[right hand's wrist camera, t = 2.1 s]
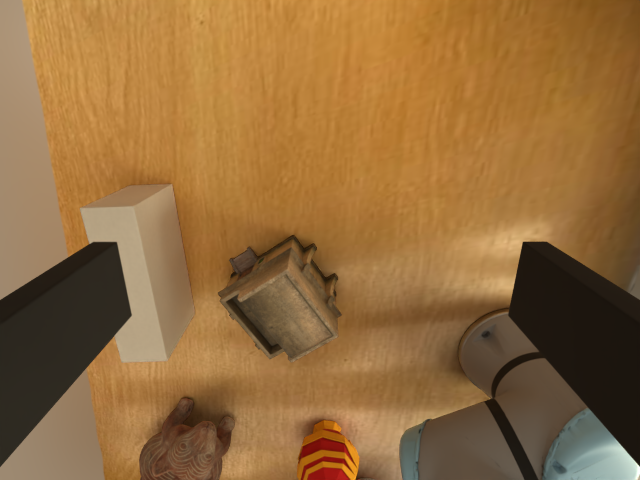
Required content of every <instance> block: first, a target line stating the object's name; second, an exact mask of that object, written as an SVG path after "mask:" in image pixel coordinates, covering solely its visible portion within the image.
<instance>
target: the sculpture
mask: <svg viewBox="0 0 640 480" xmlns="http://www.w3.org/2000/svg"><path fill="white" fill-rule="evenodd" d="M193 405H194V403H193V401H192V400H190V399H188V398H183V399H182V400H181V401H180V402H179V404H178V406H177V408H176V409H175V410H173V411H172V412H171V414H170V415H169V416H168V417H167V419H166V420H165V422H164V424H163V427H162V432H161V433H159V434H156V435H155V436H153V437H152V438H151V439H149V441H148V442H147V443H146V444H145V445H144V447H143V449H142V451H141V454H140V459H139V463H140V473H141V479H140V480H219V478H220V475H221V471H222V458H221V457H222V456H223V455H224V454H225V453H226V452H227V451H228V449H229V446H230V441H231V431H232V429H233V428H234V424H235V422H234V419H232V418H231V417H227V416H225V417H224V418H223V419H222V421H221V422H220V424H219V426H218V427H217V430H216V426H215V425H214V423H212V422H211V421H202V422H200V423H199V424H197V425H196V426H194V427H193V428H192V427H189V426H187V425H184V424H183V422H184V421H185V420H186V419H187V418H188V417H189V415H190V413H191V411H192V408H193Z"/></svg>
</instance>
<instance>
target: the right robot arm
mask: <svg viewBox="0 0 640 480" xmlns="http://www.w3.org/2000/svg"><path fill="white" fill-rule="evenodd" d="M131 316H132V313H131V308H130V303H129V298H128V294H127V289H126V284H125V279H124V274H123V269H122V264H121V259H120V254H119V249H118V244H117V242H92V243H91V244H89V245H87V246H86V247H84V248H83V249H81V250H79V251H78V252H76V253H75V254H73V255H71V256H70V257H68V258H67V259H65V260H63V261H62V262H60V263H59V264H57V265H55V266H54V267H52V268H51V269H49V270H47V271H46V272H44V273H43V274H41V275H39V276H38V277H36V278H35V279H33V280H31V281H30V282H28V283H27V284H25V285H24V286H22V287H20V288H19V289H17V290H15V291H14V292H12V293H11V294H9V295H8V296H6V297H4V298H3V299H1V300H0V467H1V465H2V464H3V463H4V462H5V461H6V460H7V459H8V457H9V456H10V455H11V454H12V453H13V452H14V450H15V449H16V448H17V447H18V446H19V445H20V444H21V442H22V441H23V440H24V439H25V438H26V437H27V436H28V434H29V433H30V432H31V431H32V430H33V429H34V428H35V426H36V425H37V424H38V423H39V422H40V421H41V419H42V418H43V417H44V416H45V415H46V414H47V413H48V411H49V410H50V409H51V408H52V407H53V406H54V405H55V403H56V402H57V401H58V400H59V399H60V398H61V397H62V395H63V394H64V393H65V392H66V391H67V390H68V388H69V387H70V386H71V385H72V384H73V383H74V382H75V380H76V379H77V378H78V377H79V376H80V375H81V374H82V372H83V371H84V370H85V369H86V368H87V367H88V366H89V364H90V363H91V362H92V361H93V360H94V359H95V358H96V356H97V355H98V354H99V353H100V352H101V351H102V349H103V348H104V347H105V346H106V345H107V344H108V343H109V341H110V340H111V339H112V338H113V337H114V336H115V335H116V333H117V332H118V331H119V330H120V329H121V328H122V327H123V325H124V324H125V323H126V322H127V321H128V320H129V318H130V317H131ZM458 358H459V362H460V365H461V367H462V369H463V371H464V373H465V374H466V376H467V377H468V378H469V380H470V381H471V382H472V383H473V384H474V385H475V386H477V387H478V388H480V389H481V390H482V391H483V392H485V393H486V394H487V395H488V396H489V397H490V398H491V399H490V400H487V401H484V402H481V403H478V404H475V405H472V406H470V407H467V408H464V409H461V410H458V411H455V412H453V413H450V414H447V415H444V416H441V417H438V418H436V419H433V420H432V419H427V420H425V421H424V422H423V423H421V424H419V425H417V426H414V427H412V428H409V429H408V430H406V431H405V433H404V434H403V435H402V437H401V440H400V447H399V455H400V466H401V472H402V478H403V480H637V479H638V477H639V474H640V300H639V299H637V298H636V297H634V296H632V295H631V294H629V293H628V292H626V291H624V290H623V289H621V288H620V287H618V286H617V285H615V284H613V283H612V282H610V281H609V280H607V279H605V278H604V277H602V276H601V275H599V274H597V273H596V272H594V271H593V270H591V269H589V268H588V267H586V266H585V265H583V264H581V263H580V262H578V261H577V260H575V259H573V258H572V257H570V256H569V255H567V254H565V253H564V252H562V251H561V250H559V249H557V248H556V247H554V246H553V245H551V244H549V243H548V242H523V244H522V249H521V254H520V259H519V264H518V269H517V274H516V279H515V284H514V289H513V294H512V298H511V303H510V308H509V309H502V310H498V311H495V312H492V313H489V314H487V315H485V316H483V317H482V318H480V319H478V320H477V321H476V322H475V323H473V324H472V325H471V326H470V327H469V328H468V330H467V331H466V332H465V334H464V335H463V337H462V339H461V342H460V345H459V349H458Z"/></svg>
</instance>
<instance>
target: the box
mask: <svg viewBox="0 0 640 480" xmlns="http://www.w3.org/2000/svg"><path fill="white" fill-rule="evenodd" d="M80 211H81V215H82V219H83V222H84V226H85V230H86V233H87V237H88V241H89V244H91V243H92V242H117V244H118V249H119V254H120V259H121V264H122V269H123V274H124V279H125V284H126V289H127V294H128V298H129V303H130V308H131V313H132V316H131V317H130V318H129V320H128V321H127V322H126V323H125V324H124V325H123V327H122V328H121V329H120V330H119V331H118V332H117V333H116V335H115V340H116V343H117V347H118V351H119V354H120V358H121V362H122V363H123V362H155V361H168V359H169V358H170V356H171V354H172V352H173V351H174V349H175V347H176V346H177V344H178V342H179V340H180V339H181V337H182V335H183V333H184V332H185V330H186V328H187V327H188V325H189V323H190V321H191V320H192V318H193V316H194V315H195V309H194V304H193V298H192V292H191V287H190V281H189V275H188V270H187V264H186V259H185V253H184V247H183V242H182V236H181V231H180V225H179V219H178V214H177V208H176V202H175V197H174V191H173V186H172V184H155V185H130V186H127V187H125V188H123V189H121V190H119V191H116V192H114V193H112V194H110V195H108V196H105V197H103V198H101V199H99V200H97V201H94V202H92V203H90V204H88V205H86V206H83V207H81V208H80Z"/></svg>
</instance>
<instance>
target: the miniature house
mask: <svg viewBox="0 0 640 480" xmlns="http://www.w3.org/2000/svg"><path fill="white" fill-rule="evenodd" d="M316 250H317V247H316V246H315V245H314V243H313V244H312V245H310V246H308V247H307V248H305V249H304V248H303V246H302V245H301V244H300V242H299V241H298V240H297V238H296V237H295V236H294V235H292V236H291V237H289V238H288V239H286V240H284V241H283V242H281V243H280V244H278V245H277V246H275V247H273V248H272V249H270V250H269V251H267V252H265V253H264V254H262V255H261V256H259V257H257V256H256V254H255V253H254V252H253V251H252V249H251V248H250V247H248V248H247V251H246V252H244V253H242V254H241V255H239V256H238V257H236V258H235V259H232V258H231V259H230V260H229V261H230V262H231V264H232V266H233V268H234V271H235V272H234V273H232V275H231V279H230V281H229V283H228V285H227V287H226V288H225V289H223V290H222V291H220V292H219V293H218V295H219V296H220V297H221V299H220V302H221V303H222V304H223V306H224V307H225V308H226V309H227V310H228V312H229V313H230V315H229V316H230V317H231V318H232V319H233V320H234V319H235V320H236V321H237V322H238V323H239V324H240V325H241V327H242V328H243V329H244V330H245V331H246V332H247V334H248V335H249V336H250V337H251V338H252V339H253V340H254V342H255V343H256V344H255V346H256V347H257V348H258V349H261V350H262V351H263V352H264V353H265V354H266V356H267V357H268V358H269V359H272V358H273V357H275V356H277V355H279V354H281V353H282V352H284V351H285V352H286V354H287V355H288V360H289V361H290V362H294V361H295V360H297V359H299V358H301V357H303V356H305V355H306V354H308V353H310V352H312V351H314V350H315V349H317V348H319V347H321V346H323V345H324V344H326V343H328V342H330V341H332V340H333V339H335V338H337V337H338V324H337V318H338V317H340V316H341V315H342V314H341V313H340V312H339V310H338V309H337V308H336V299H335V296H336V292H335V290H334V286H335V284H336V281H337V280H338V277H337V275H336V274H335V273H334V274H332V275H331V276H329V277H327V278H325V277H324V275H323V274H322V272H321V271H320V270H319V268H318V267H317V266H316V264H315V263H314V262H313V260H312V259H311V258H312V256H313V254H314V252H315V251H316Z"/></svg>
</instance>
